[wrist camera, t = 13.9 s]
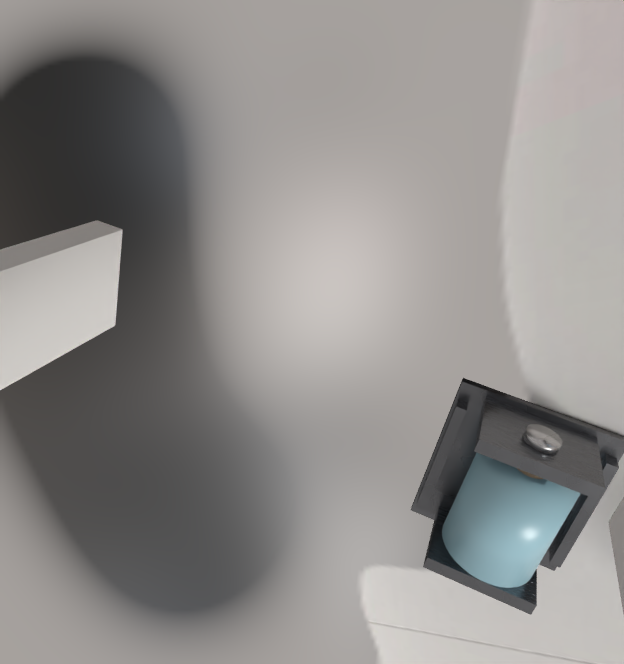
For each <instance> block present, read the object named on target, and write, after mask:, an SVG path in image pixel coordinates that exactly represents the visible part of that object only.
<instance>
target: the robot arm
mask: <svg viewBox="0 0 624 664" xmlns="http://www.w3.org/2000/svg"><path fill="white" fill-rule="evenodd" d="M121 241H122V229H119V228H116V227H113V226H111V225H108V224H105V223H102V222H99V221H94V222H91V223H87V224H84V225H81V226H77V227H74V228H71V229H68V230H64V231H61V232H57V233H54V234H51V235H47V236H44V237H41V238H38V239H34V240H31V241H28V242H24V243H21V244H18V245H14V246H11V247H8V248H4V249H1V250H0V390H1V389H3V388H5V387H6V386H8V385H10V384H12V383H14V382H15V381H17V380H19V379H21V378H23V377H24V376H26V375H28V374H30V373H31V372H33V371H35V370H37V369H38V368H40V367H42V366H44V365H46V364H47V363H49V362H51V361H52V360H54V359H56V358H58V357H60V356H62V355H63V354H65V353H67V352H69V351H70V350H72V349H74V348H76V347H78V346H79V345H81V344H83V343H85V342H86V341H88V340H90V339H92V338H94V337H95V336H97V335H99V334H101V333H102V332H104V331H106V330H108V329H109V328H111V327H113V326H115V319H116V307H117V293H118V280H119V268H120V255H121ZM609 527H610V533H611V540H612V546H613V552H614V558H615V564H616V570H617V576H618V582H619V589H620V595H621V601H622V607H623V613H624V498H623V499H622V501H621V502H620V504H619V506H618V507H617V509H616V511H615V512H614V514H613V515H612V517H611V519H610V520H609Z"/></svg>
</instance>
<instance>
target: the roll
mask: <svg viewBox="0 0 624 664" xmlns="http://www.w3.org/2000/svg"><path fill="white" fill-rule="evenodd" d="M579 496H580V493H579V492H576V491H574V490H571V489H569V488H566V487H564V486H561V485H558V484H556V483H553V482H551V481H548V480H546V479H543V478H541V477H538V476H536V475H533V474H530V473H528V472H525V471H523V470H520V469H518V468H515V467H513V466H510V465H507V464H505V463H502V462H500V461H497V460H495V459H492V458H490V457H487V456H484V455H482V454H479V453H476V455H475V457H474V459H473V461H472V464H471V466H470V468H469V470H468V472H467V475H466V477H465V479H464V481H463V483H462V485H461V488H460V490H459V492H458V494H457V496H456V498H455V501H454V503H453V505H452V507H451V509H450V511H449V514H448V516H447V518H446V520H445V522H444V525H443V528H442V537H443V541H444V544H445V546H446V549H447V550H448V552H449V554H450V555H451V556H452V558H453V559H454V560H455V561H456V562H457V563H458V564H459V565H460V566H461V567H462V568H463V569H464V570H465V571H467V572H468V573H469V574H471V575H472V576H474V577H476V578H477V579H479V580H481V581H483V582H486V583H488V584H491V585H494V586H498V587H505V588H513V587H519V586H522V585H524V584H525V583H527V582H528V581H529V580H530V579H531V577H532V575H533V574H534V572H535V570H536V569H537V567H538V565H539V564H540V562H541V560H542V558H543V557H544V555H545V553H546V552H547V550H548V548H549V547H550V545H551V543H552V541H553V540H554V538H555V536H556V535H557V533H558V531H559V530H560V528H561V526H562V525H563V523H564V521H565V519H566V518H567V516H568V514H569V513H570V511H571V509H572V508H573V506H574V504H575V502H576V501H577V499H578V497H579Z"/></svg>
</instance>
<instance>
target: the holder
mask: <svg viewBox="0 0 624 664" xmlns="http://www.w3.org/2000/svg"><path fill="white" fill-rule="evenodd" d="M476 453H479V454H482V455H484V456H487V457H490V458H492V459H495V460H497V461H500V462H502V463H505V464H507V465H510V466H513V467H515V468H518V469H520V470H523V471H525V472H528V473H530V474H533V475H536V476H538V477H541V478H543V479H546V480H548V481H551V482H553V483H556V484H558V485H561V486H564V487H566V488H569V489H571V490H574V491H576V492H579V493H580V496H579V497H578V499H577V501H576V502H575V504H574V506H573V508H572V509H571V511H570V513H569V514H568V516H567V518H566V519H565V521H564V523H563V525H562V526H561V528H560V530H559V531H558V533H557V535H556V536H555V538H554V540H553V541H552V543H551V545H550V547H549V548H548V550H547V552H546V553H545V555H544V557H543V558H542V560H541V562H540V565H542V566H544V567H547V568H549V569H551V570H554V571H555V569H556V567H557V566H558V567H561V565H562V563H563V562H564V560H565V558H566V557H567V555H568V553H569V551H570V550H571V548H572V546H573V545H574V543H575V541H576V540H577V538H578V536H579V535H580V533H581V531H582V529H583V528H584V526H585V524H586V523H587V521H588V519H589V518H590V516H591V514H592V513H593V511H594V509H595V507H596V506H597V504H598V502H599V501H600V499H601V497H602V496H603V494H604V492H605V491H606V489H607V487H608V486H609V484H610V482H611V480H612V479H613V477H614V475H615V474H616V472H617V470H618V469H619V466H618V462H619V460H620V458H621V456H622V455H623V453H624V437H623V436H620V435H618V434H615V433H612V432H609V431H607V430H604V429H601V428H598V427H596V426H593V425H590V424H588V423H585V422H582V421H579V420H577V419H574V418H571V417H568V416H566V415H563V414H560V413H557V412H555V411H552V410H549V409H547V408H544V407H541V406H538V405H536V404H533V403H530V402H527V401H525V400H522V399H519V398H516V397H514V396H511V395H508V394H506V393H503V392H500V391H497V390H495V389H492V388H489V387H486V386H484V385H481V384H478V383H475V382H473V381H470V380H467V379H465V378H463V379H462V382H461V384H460V387H459V390H458V392H457V394H456V397H455V400H454V402H453V404H452V407H451V410H450V412H449V414H448V417H447V419H446V422H445V424H444V427H443V430H442V432H441V435H440V437H439V440H438V442H437V445H436V447H435V450H434V452H433V455H432V457H431V460H430V462H429V465H428V467H427V470H426V472H425V475H424V477H423V480H422V482H421V485H420V487H419V490H418V492H417V495H416V497H415V500H414V502H413V505H412V508H411V510H412V511H414V512H417V513H419V514H422V515H424V516H426V517H429V518H431V519H433V520H434V524H433V528H432V532H431V536H430V541H429V545H428V549H427V553H426V557H425V561H424V566H423V567H425V568H427V569H429V570H431V571H434V572H436V573H438V574H440V575H443V576H445V577H447V578H449V579H452V580H454V581H456V582H458V583H461V584H463V585H465V586H467V587H470V588H472V589H474V590H476V591H479V592H481V593H483V594H485V595H488V596H490V597H492V598H494V599H497V600H499V601H501V602H504V603H506V604H508V605H510V606H513V607H515V608H517V609H519V610H522V611H524V612H526V613H528V614H532V612H533V610H534V609H535V607H536V589H537V569H536V570H535V572H534V574H533V575H532V577H531V579H530V580H529V581H528V582H527V583H525V584H524V585H522V586H519V587H513V588H505V587H498V586H494V585H491V584H488V583H486V582H483V581H481V580H479V579H477V578H476V577H474V576H472V575H471V574H469V573H468V572H467V571H465V570H464V569H463V568H462V567H461V566H460V565H459V564H458V563H457V562H456V561H455V560H454V559H453V558H452V556H451V555H450V554H449V552H448V550H447V549H446V546H445V544H444V541H443V537H442V528H443V525H444V522H445V520H446V518H447V516H448V514H449V511H450V509H451V507H452V505H453V503H454V501H455V498H456V496H457V494H458V492H459V490H460V488H461V485H462V483H463V481H464V479H465V477H466V475H467V472H468V470H469V468H470V466H471V464H472V461H473V459H474V457H475V455H476Z"/></svg>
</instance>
